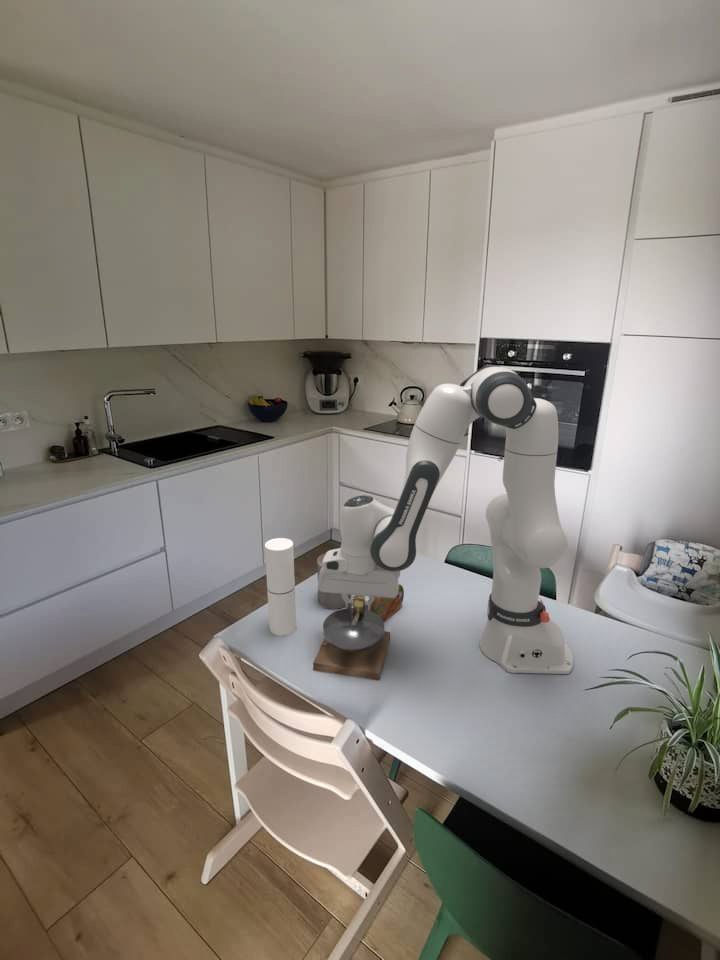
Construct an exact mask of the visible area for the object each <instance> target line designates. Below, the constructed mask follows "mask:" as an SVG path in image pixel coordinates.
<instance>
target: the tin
mask: <svg viewBox="0 0 720 960" xmlns="http://www.w3.org/2000/svg"><path fill="white" fill-rule="evenodd" d="M398 587H399V588H398V595H397V596H396V597H395V598H384V597H375V598H374V601H373V602H372V603H371V607H370V610H369V611H372V612H374V613H376V614H377V615H378V616H379V617H380V618H381V619H382V620H383V622H384V623H385V622H386V621H387V620H389V619H390V618H391V617H393V615H395V614H396V613H397V612H398V611H399V610H400V609H401V606H402V604H403V601H404V595H405V593H404V592H405V591H404V587H403V585H402V584H399V583H398Z"/></svg>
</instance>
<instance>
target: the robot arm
mask: <svg viewBox="0 0 720 960" xmlns="http://www.w3.org/2000/svg"><path fill="white" fill-rule="evenodd" d="M532 394H533V393H532V392H531V389H530V387H529V386H528V384H527V382H526V381H525V380H524V379H523V378H522V377H521V376H520V375H518V373H517V372H516V371H513V370H512V369H510V368H507V367H505V366H501V365H497V364H491V365H485V366H483V367H481V368H479V369H477V370H476V371H475V372H473V373H472V374H471V375H470V376H469V377H467V378H466V379H465V380H463V381H462V382H460V385H459V384H454V383H442V384H439V385H437V386H436V387H435V388H434V389H433V390H432V391H431V392H430V394H429V396H428V398H427V399H426V401H425V403H424V404H423V406H422V408H421V409H420V412H419V413H418V415H417V418H416V421H415V422H414V425H413V428H412V430H411V432H410V436H409V440H408V444H407V450H406V457H405V460H406V461H405V462H406V463H405V476H404V483H403V486H402V490H401V493H400V496H399V498H398V501H397V503H396V505H395V508H393V507H390V506H388V505H385V504H383V503H381V502H379V501H378V500H377V499H375V498H374V497H373V496H370V495H364V494H363V495H357V496H356V495H355V496H353V497H352V498H349V499H348V500H346V501H345V503H344V504H343V505H342V509H341V512H340V513H341V514H340V527H339V528H340V531H339V532H340V536H341V544H340V547H338V548H334V549H330V550H328V551H326V552H325V553H326V554H325V556H324V558H323V561H322V568H321V570H320V573H319V578H318V577H317V590H318V589H319V590H320V591H321V592H328V593H339V594H341V597H342V599H343V600H344V602H345V603H346V606H345V609H346V608H353V599H352V598H351V599H349V597H348V596H347V594H350V595H351V596H355V595H361V596H364V597H368V600H365V603H364V610H370V607H371V603H372V602H373V601H374V598H375V597H384V598H395V597H396V596H397V595H398V588H399V587H398V584H399V578H400V577H401V571H404V570H406V569H408V568H409V567H410V566H412V564H413V563H414V561H415V560H416V556H417V546H416V545H417V544H416V538H417V534H418V530H419V528H420V526H421V524H422V521H423V519H424V516H425V513H426V511H427V509H428V506H429V505H430V502H431V499H432V497H433V495H434V492H435V491H436V489H437V486H438V485H439V483H440V482H441V480H442V478H443V477H444V474H445V473H446V471H447V469H448V468H449V466H450V465H451V463H452V461H453V460H454V457H455V456H456V453H458V450H459V448H460V446H461V444H462V441H463V439H464V437H465V434H466V431H467V430H468V429H469V426H471V424H472V423H473V422H474V421H477V419H479V418H481V417H482V418H483V419H484V420H486V421H488V422H489V423H491V424H493V425H497V426H502V427H504V428H505V434H506V435H505V444H504V455H503V468H502V483H503V486H504V489H505V492H506V493H505V494H499V495H497V496H495V497H494V498H492V499H491V500H490V502H489V503H488V504H487V507H486V510H485V518H486V521H487V524H488V529H489V536H490V543H491V544H490V545H491V553H492V562H493V563H492V564H493V575H492V584H491V592H490V594H489V597H488V601H487V611H486V615H487V620H486V624H485V627H484V630H483V632H482V635H481V637H480V639H479V648H480V649H481V652H482V653H483V654H484V655H485V656H486V657H487V658H488V659H490V660H492V661H493V662H495V663H496V664H498V665H499V666H500V667H502V669H503V670H504V671H506V672H508V673H511V674H545V675H546V674H547V675H549V674H551V675H567V674H570V673H571V672H572V670H573V669H574V668H573V667H574V656H573V653H572V650H571V648H570V646H569V645H568V643H567V641H566V640H565V638H564V635H563V634H564V633H563V632H562V630H561V628H560V626H559V625H558V624H557V623H556V622H554V621H553V620H551V619H550V615H549V612H547V610H546V609H547V608H546V606H545V604H544V602H543V600H542V599H541V598H540V591H541V583H542V573H541V569H548V568H551V567H553V566H556V565H557V564H558V563H559V562H561V561H562V559H563V558H564V557H565V555H566V553H567V549H568V539H567V537H566V535H565V532H564V530H563V528H562V526H561V525H562V524H561V521H560V516H559V510H558V506H557V505H558V504H557V499H556V491H555V490H556V489H555V480H556V478H555V477H556V468H557V459H558V458H557V457H558V448H559V417H558V411H557V408H556V406H555V405H554V403H551V402H550V401H548V400H546V399H543V398H539V397H538V398H537V397H534V396H533V395H532ZM539 598H540V601H539Z"/></svg>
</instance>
